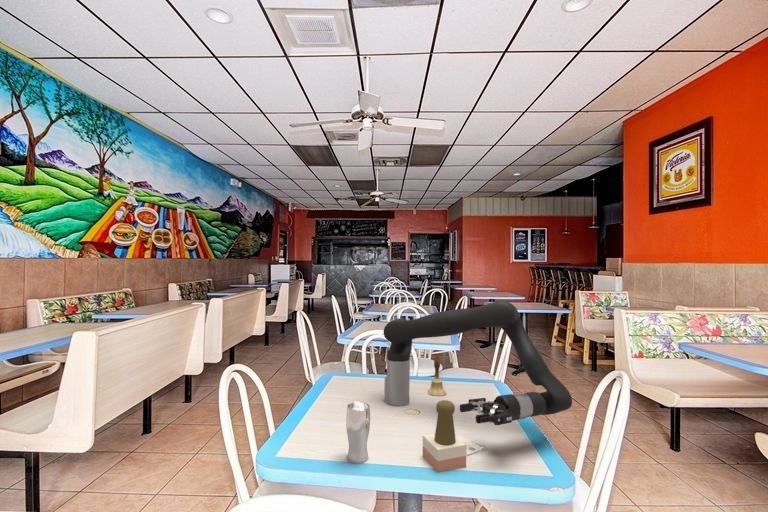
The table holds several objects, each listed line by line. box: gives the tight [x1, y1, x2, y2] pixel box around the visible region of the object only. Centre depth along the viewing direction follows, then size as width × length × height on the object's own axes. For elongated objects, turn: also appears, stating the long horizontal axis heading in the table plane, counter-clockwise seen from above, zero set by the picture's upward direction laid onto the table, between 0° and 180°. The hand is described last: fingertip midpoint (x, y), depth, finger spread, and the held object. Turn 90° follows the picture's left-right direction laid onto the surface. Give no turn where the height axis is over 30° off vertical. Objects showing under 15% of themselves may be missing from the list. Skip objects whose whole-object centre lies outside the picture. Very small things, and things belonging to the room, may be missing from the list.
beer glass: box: [345, 401, 371, 465], centre depth 111 cm, size 7×7×15 cm
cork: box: [434, 399, 456, 446], centre depth 110 cm, size 6×6×11 cm
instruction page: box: [457, 435, 485, 457], centre depth 120 cm, size 10×7×1 cm
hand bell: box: [426, 355, 447, 397], centre depth 167 cm, size 8×8×16 cm
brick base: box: [422, 433, 467, 473], centre depth 110 cm, size 9×9×6 cm
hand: (468, 413), depth 113 cm, fingers open, 8 cm apart
